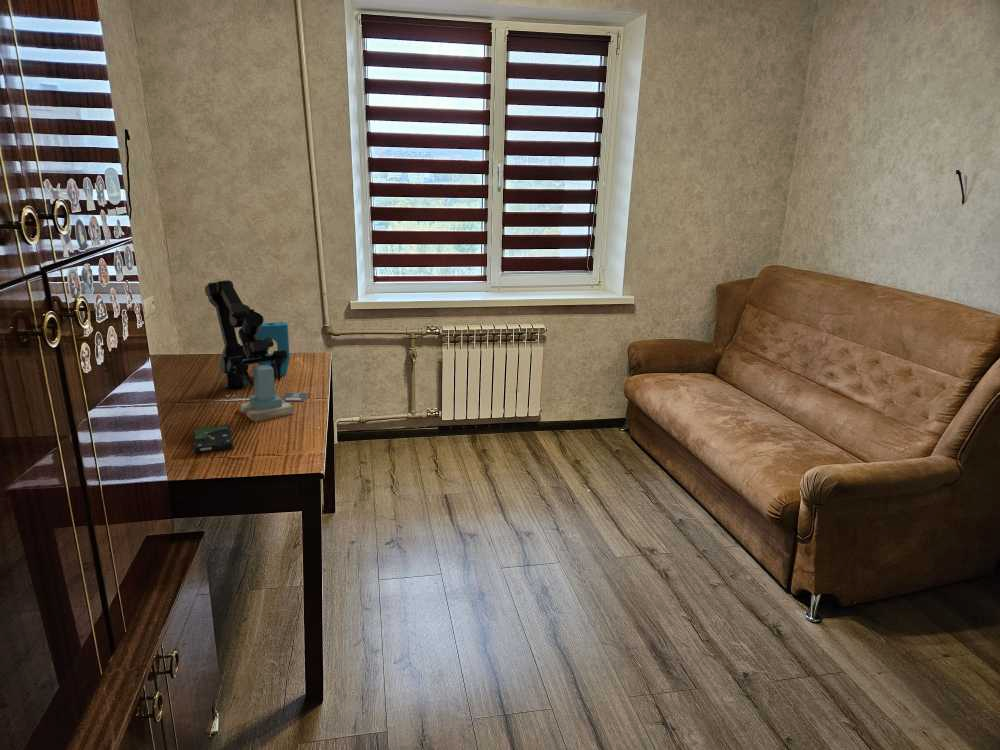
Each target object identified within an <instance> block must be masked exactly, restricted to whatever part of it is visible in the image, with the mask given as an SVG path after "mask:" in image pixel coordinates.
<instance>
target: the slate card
mask: <svg viewBox="0 0 1000 750" xmlns="http://www.w3.org/2000/svg"><path fill="white" fill-rule="evenodd" d="M309 395H310V393H309V392H308V393H307V392H286V393H284V395H283V397H282V398H281V399H282V400H284V401H285V402H287V403H289V402H293V403H296V402H299V403H301V402H303V403H304V402H305V400H306V399H307V398H308V396H309Z"/></svg>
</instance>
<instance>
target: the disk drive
mask: <svg viewBox="0 0 1000 750" xmlns="http://www.w3.org/2000/svg"><path fill="white" fill-rule="evenodd" d="M192 433H193V442H194V443H193V446H194V453H195V455H202V454H208V453H209V454H210V453H217V452H223V451H224V452H225V451H231V450H234V442H233V441H234V440H233V437H232V432H231V428H230V425H229V424H223V425H222V424H221V425H213V426H210V427H203V428H194V429H193V431H192Z"/></svg>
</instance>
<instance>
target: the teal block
mask: <svg viewBox="0 0 1000 750" xmlns="http://www.w3.org/2000/svg"><path fill="white" fill-rule="evenodd" d="M252 375H253V386H254V395H249V401H250V404H251V405H252V406H253V407H254V408H255V409H256V410H257V411H259V410H264V409H270V408H275V407H281V406H282V398H281V397H280V396H279V395H278V394H276V387H275V386H276V385H275V374H274V370H273V368H272V367H271V366H270V365H268V364H267V365H261V366H259V365H256V366H252Z"/></svg>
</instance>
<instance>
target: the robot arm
mask: <svg viewBox="0 0 1000 750" xmlns="http://www.w3.org/2000/svg"><path fill="white" fill-rule="evenodd" d="M233 283H234V282H233V281H232V280H229V279H228V280H219V281H215V282H208V283H207V285H205V287H204V292H205V295H206V296H207V298H208V301H209V303H210V304H211V305H212V306H213V307H214V308H215V311H216V316H217V320H218V323H219V328H220V331H221V336H222V341H223V344H224V347H223V349H222V352H221V359H220V363H219V370H220V372H222V373H223V374H224V375H225V376H226V384H225V386H224V387H223V389H227V390H228V389H229V390H230V389H231V390H241V389H243V388H244V387H245V386H246V385H247V384H248V385H249V386H250V387H252V386H253V382H252V379H251V376H250V373H249V372H248V369H249V366H250V365H256V364H258V363H262V362H269V361H272V364H274V365H273V369H274V372H275V374H274V375H275V377H276V379H277V381H278V382H280V381H281V376H280V372H281V366H282V364H284V363H285V361H286V359H287V357H288V354H287V351H285V350H284V349H283V350H273V352H272V353H271V354H272V355H269V356H265V354H267V349H268V350H270V348H272V347H274V340H273V339H272V338H271V337H267V338H265V340H260V339H259V336H258V333H259V332H260V329H261V326H262V324H263V323H264V319H265V318H264V317H263V315H262V314H261V313H260V312H256V311H255V309H254V308H253V309H252V308H250V306H249V305H246V304H244V303H243V302H242V299H240V296H239V294H238V293H237V291H236V289H235V288H234V284H233ZM235 328H239V330H238V333H237V334H238V337H237V334H236V329H235ZM238 339H240V342H241V344H240V343H239V342H238Z"/></svg>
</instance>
